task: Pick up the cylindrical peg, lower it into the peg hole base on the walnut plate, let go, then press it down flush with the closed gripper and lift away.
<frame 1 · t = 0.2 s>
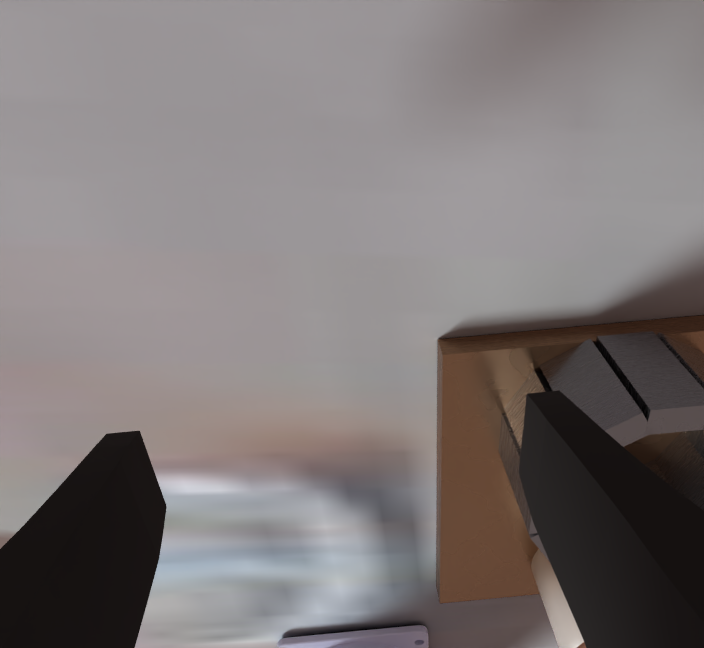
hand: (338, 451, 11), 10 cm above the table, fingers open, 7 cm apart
peg hole base: (596, 406, 24), on the table
cylindrical peg: (577, 558, 28), point 1 cm above the table, touching peg hole base
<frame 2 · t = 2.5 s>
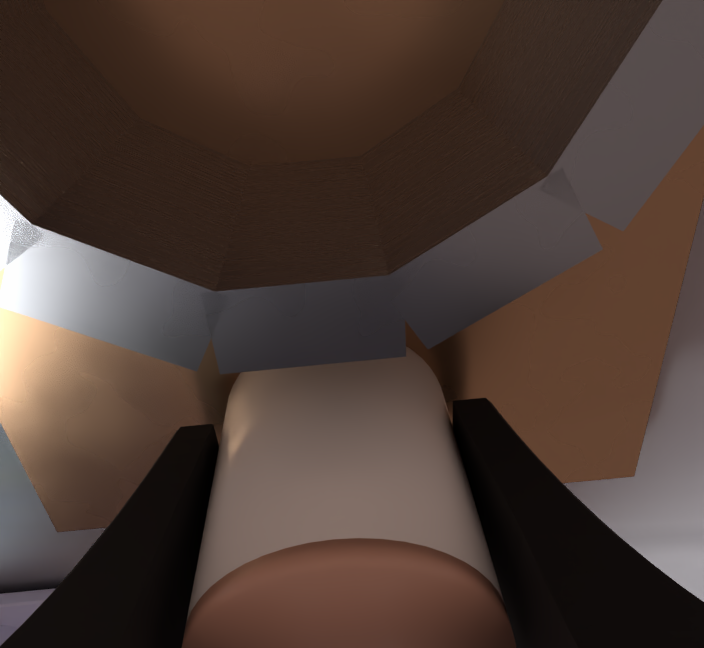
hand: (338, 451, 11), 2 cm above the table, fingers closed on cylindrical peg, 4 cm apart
cylindrical peg: (336, 419, 12), point 1 cm above the table, touching gripper, peg hole base
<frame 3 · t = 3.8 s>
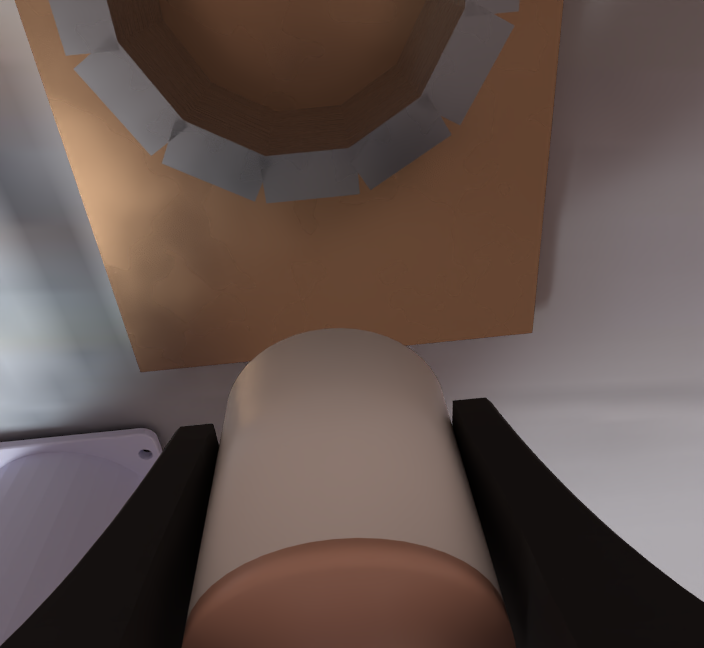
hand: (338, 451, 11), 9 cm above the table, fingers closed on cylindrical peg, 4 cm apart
cylindrical peg: (336, 419, 12), point 8 cm above the table, touching gripper
when the fingers open (5 cm above the table, at t = 5.5 s): cylindrical peg drops 3 cm, resting on peg hole base.
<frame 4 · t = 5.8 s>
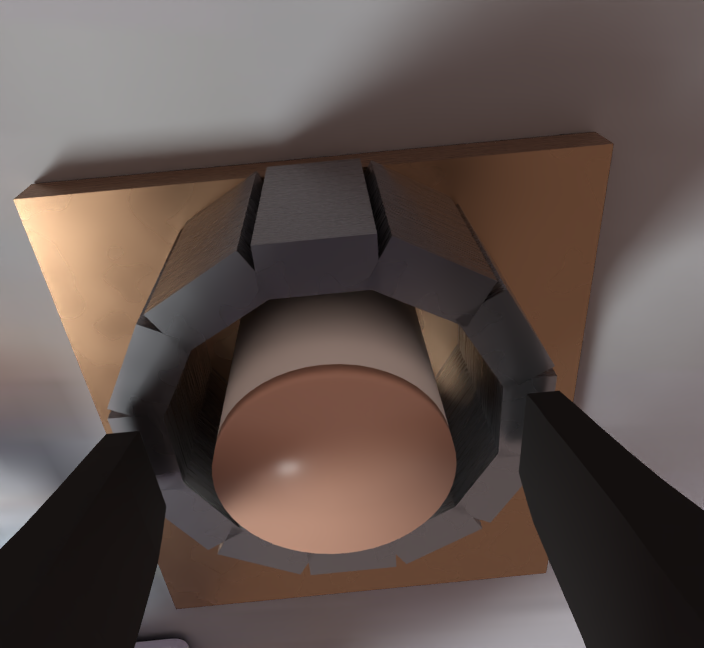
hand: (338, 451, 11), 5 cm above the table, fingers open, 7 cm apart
peg hole base: (330, 306, 16), on the table
cylindrical peg: (329, 327, 15), point 1 cm above the table, touching peg hole base
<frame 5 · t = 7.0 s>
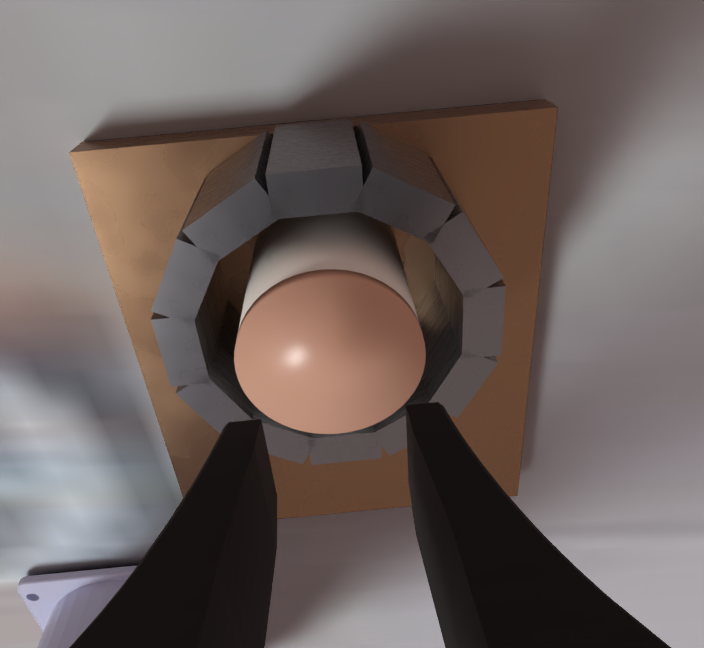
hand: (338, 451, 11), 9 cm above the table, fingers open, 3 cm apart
peg hole base: (328, 250, 19), on the table
cylindrical peg: (326, 265, 18), point 1 cm above the table, touching peg hole base
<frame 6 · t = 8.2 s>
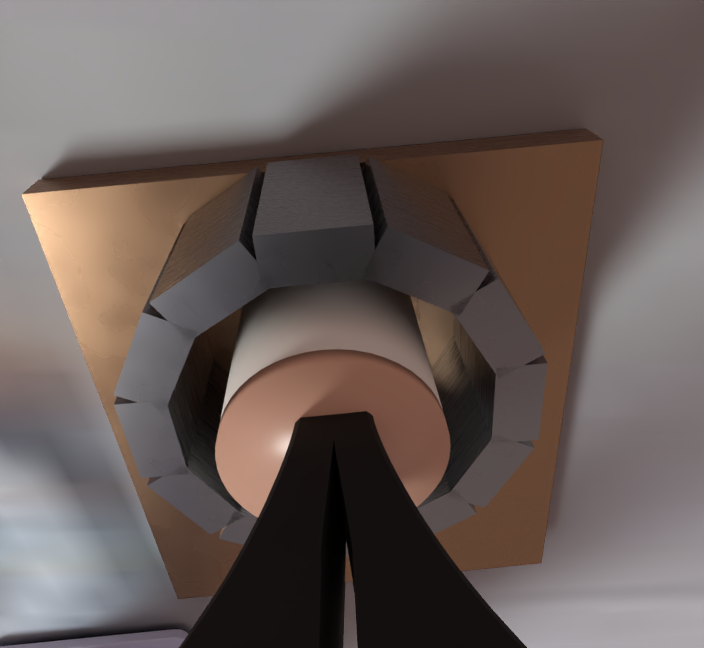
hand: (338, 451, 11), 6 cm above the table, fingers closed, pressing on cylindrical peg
peg hole base: (329, 300, 16), on the table
cylindrical peg: (328, 318, 15), point 1 cm above the table, touching gripper, peg hole base
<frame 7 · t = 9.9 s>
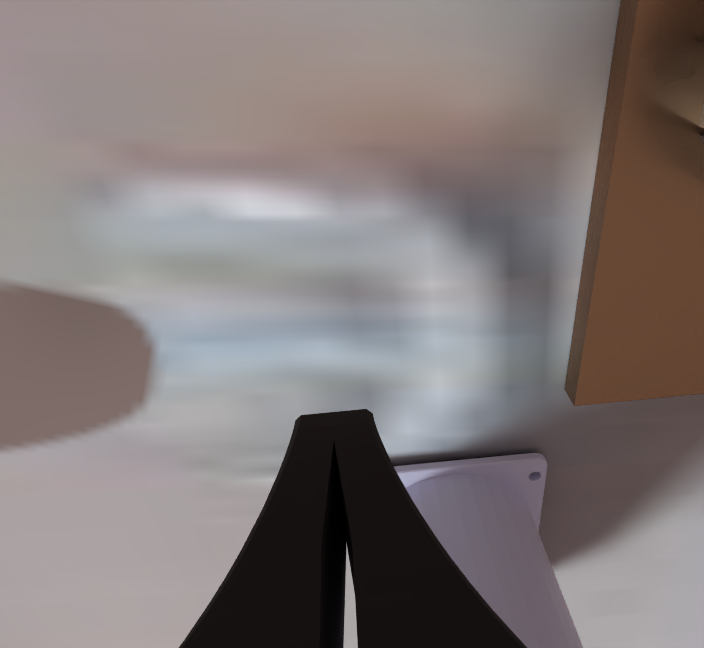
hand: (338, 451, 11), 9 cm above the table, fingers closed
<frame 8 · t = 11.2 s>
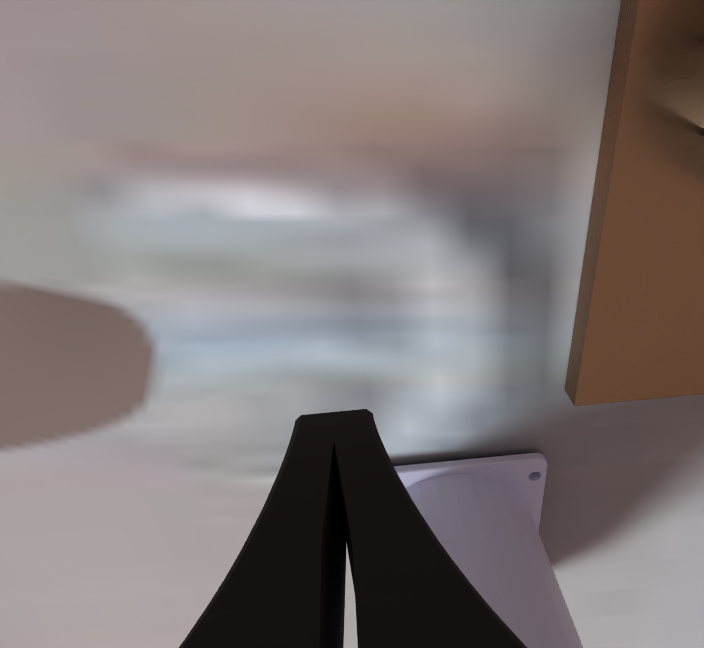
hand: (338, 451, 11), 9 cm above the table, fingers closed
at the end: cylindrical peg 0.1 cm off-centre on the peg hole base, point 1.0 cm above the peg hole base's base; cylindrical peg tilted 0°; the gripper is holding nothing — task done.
